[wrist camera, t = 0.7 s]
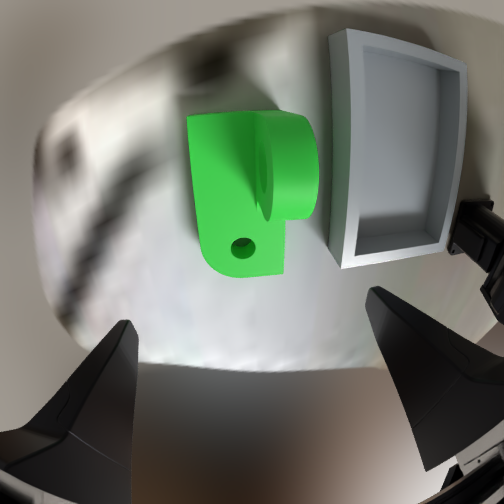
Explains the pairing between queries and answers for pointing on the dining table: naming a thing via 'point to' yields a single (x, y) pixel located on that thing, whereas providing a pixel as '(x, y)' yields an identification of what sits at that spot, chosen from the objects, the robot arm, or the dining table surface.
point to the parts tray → (393, 147)
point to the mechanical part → (250, 185)
